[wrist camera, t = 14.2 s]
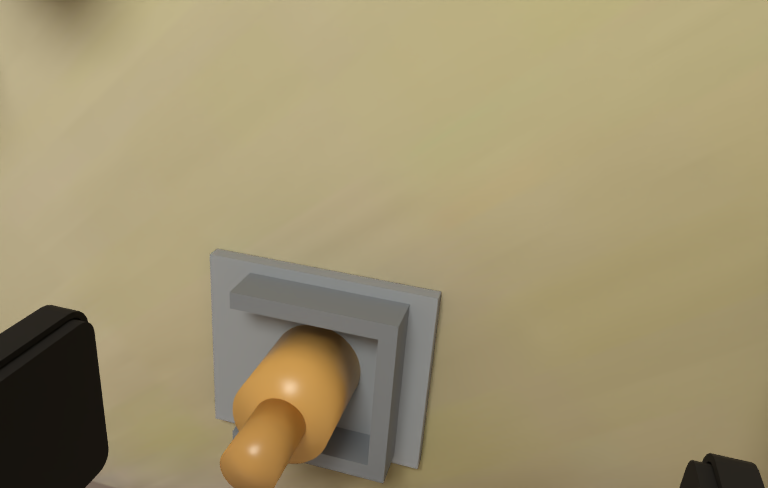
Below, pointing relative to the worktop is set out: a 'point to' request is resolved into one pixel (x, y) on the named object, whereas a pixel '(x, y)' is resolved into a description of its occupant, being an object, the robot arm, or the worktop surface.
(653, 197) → the worktop surface
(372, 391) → the u rest
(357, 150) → the worktop surface
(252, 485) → the amber bottle
